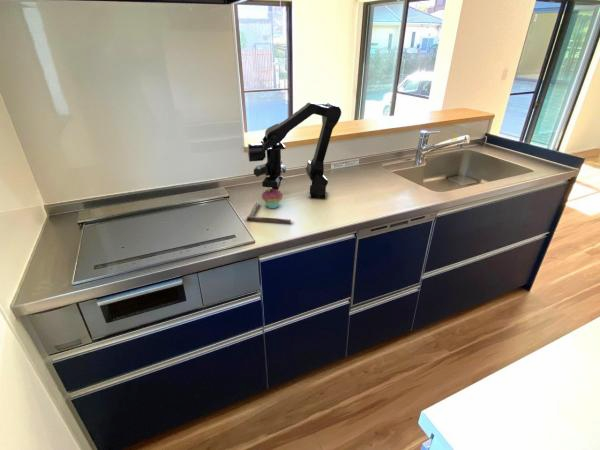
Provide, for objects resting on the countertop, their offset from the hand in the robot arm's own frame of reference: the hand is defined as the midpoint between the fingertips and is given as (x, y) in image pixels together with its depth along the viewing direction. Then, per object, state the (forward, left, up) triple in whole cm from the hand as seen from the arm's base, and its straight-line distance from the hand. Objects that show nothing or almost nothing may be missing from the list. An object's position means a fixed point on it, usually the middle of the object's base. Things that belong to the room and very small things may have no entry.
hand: (275, 194), depth 148 cm
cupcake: (0, +6, -3) cm, 6 cm away
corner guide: (-2, +14, -3) cm, 14 cm away
